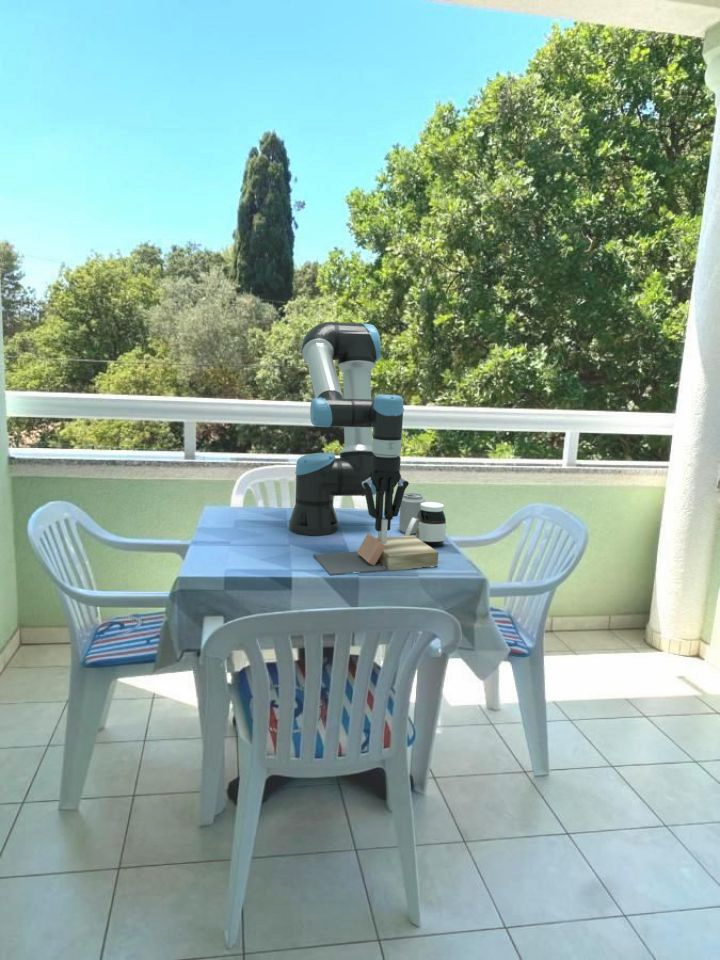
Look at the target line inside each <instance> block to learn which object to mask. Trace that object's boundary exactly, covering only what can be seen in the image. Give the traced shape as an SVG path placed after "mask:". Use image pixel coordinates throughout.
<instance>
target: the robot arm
mask: <svg viewBox="0 0 720 960" xmlns="http://www.w3.org/2000/svg"><path fill="white" fill-rule="evenodd" d="M381 350H382V343H381V337H380V334H379V330H378V329H377V327H376V326H374V325H373V324H370V323H369V324H368V323H363V322H359V323H358V322H336V321H326V322H321V323H318V324H317V325H315V326H313V327H312V328H311V329H310V330H309V331H308V332H307V333H306V335H305V336H304V338H303V340H302V343H301V355H302V359H303V360H304V362H305V363H306V364H307V367H308V372H309V377H310V381H311V386H312V389H313V394H314V395H313V396H314V398H313V399H311V401H310V406H309V407H310V409H309V410H310V411H309V412H310V413H309V415H310V422H311V424H312V425H313V426H315V427H324V428H343V429H344V430H343V431H344V435H343V436H344V447H343V449H342V450H340V452H339V457H336V456H335V454H334V453H332V452H316V453H308V454H305V455H302V456H300V457H299V458H298V459H297V460H296V465H295V466H296V468H295V472H294V473H295V495H294V496H295V502H294V503H295V504H294V505H293V506H294V507H293V509H292V513H291V515H290V519H289V524H288V529H289V530H290V531H291V532H293V533H296V534H300V535H307V536H326V535H330V534H334V533H336V532H337V531H338V530H339V521H338V517H337V515H336V511H335V507H334V497H355V496H357V497H358V496H359V497H360V496H361V497H365V502H366V506H367V511H368V515H369V516H370V517H372V518H373V519H374V520H375V522H374V524H375V525H374V528H375V529H374V530H376V531H377V538H378V540H379V541H380V542H382V543H383V544H387V537H388V532H389V531H390V530H391V523H392V520H393V518H394V517H398V516H399V514H400V506H401V502H402V499H403V495H404V493H405V491H406V490H407V487H408V486H409V484H410V483H409V481H407V480H405V479H404V478H402V475H401V472H400V471H401V456H400V455H401V454H402V436H403V435H402V434H403V421H404V411H405V408H404V398H403V397H402V396H401V395H396V394H378V395H376V396H375V397H374V398H372V383H371V380H372V379H371V377H372V376H371V372H372V370H373V369H374V368H375V367H376V362H379V360H380V359H381V355H382V354H381ZM334 361H337V362H338V363H337V364H338V365H337V367H338V368H339V369H340V370H341V371H342V372H343V381H342V382H343V384H342V385H343V392H342V388H341V384H340V381H339V378H338V374H337V373H338V372H337V370H336V366H335V363H334ZM395 487H396V490H395ZM394 492H395V495H394ZM393 495H394V497H393ZM374 496H375V501H374Z"/></svg>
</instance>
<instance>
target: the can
mask: <svg viewBox="0 0 720 960" xmlns="http://www.w3.org/2000/svg"><path fill="white" fill-rule="evenodd" d="M423 502H426V500H425V498H424V494H421V493H419V492H404V495H403V499H402V502H401V506H400V509H399V523H398V525H399V526H398V529H399V530H400V531H401V532H402V533H403V534H405V533H406V530H407V528H408V526H409V523H410V521H411V519H412V518H415V519H417V514H418V512H419V511H420V510H421V509H420V506H421V503H423ZM416 524H417V521H416ZM416 524H415V526H414V528H413V531H412V533H411V535H416Z"/></svg>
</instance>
